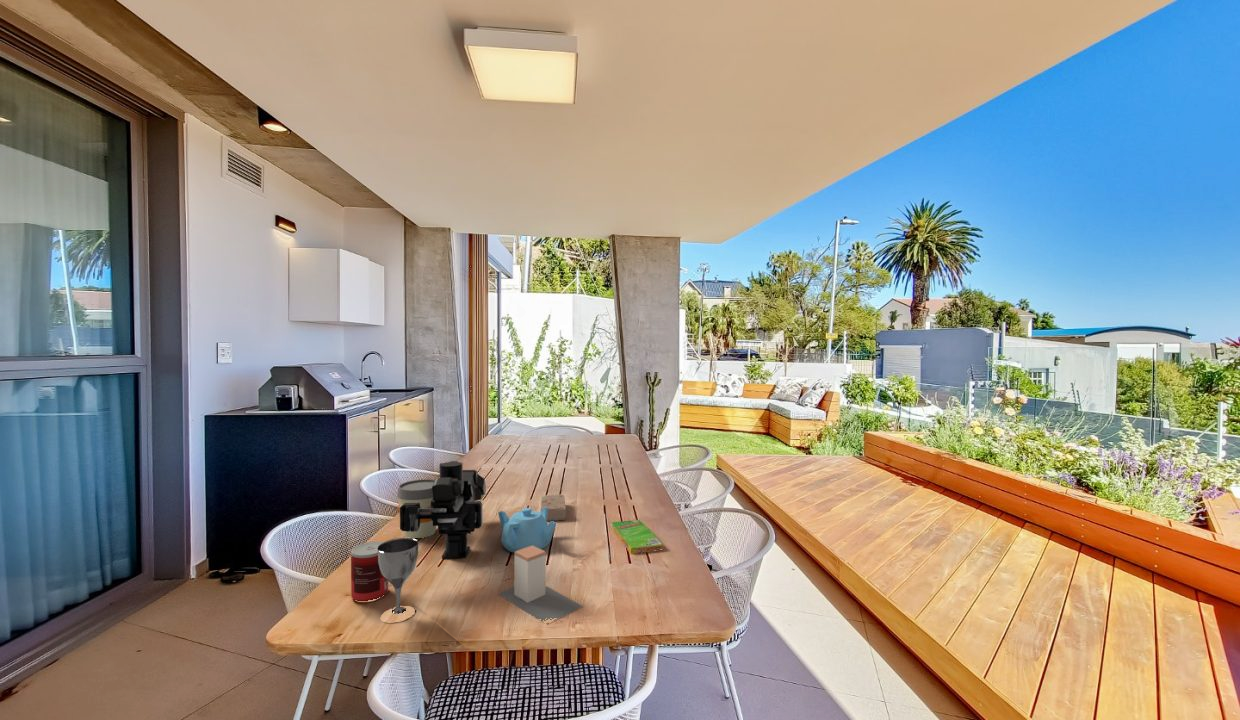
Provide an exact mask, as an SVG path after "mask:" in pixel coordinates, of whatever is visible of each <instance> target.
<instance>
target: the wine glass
mask: <svg viewBox="0 0 1240 720" xmlns="http://www.w3.org/2000/svg"><path fill="white" fill-rule="evenodd" d="M382 542H383V543H381V544H380V545H379V546H378V549H377V555H378V565H379V569H380V572H381V574H382V576H383V577H384V578H385V579H386V580H388V583H390V584H391V585H392V586H393V589H394V593H395V599H396V601H395V602H396V605H395V606H396V608H395V609H394V610H392V613H394V614H399V613H403V612H404V611H406V608H404V607H400V605H401V596H402V595H401V593H402V589H403V585H404V584H405V582H406V581H407V579H409V577H410V576H411V575H412V574H413V572H414V571H415V569H416V566H417V563H418V558H419V557H418V556H419V541H418V539H413V538H405V537H398V538H397V537H395V538H392V539H388V540H386V541H382Z"/></svg>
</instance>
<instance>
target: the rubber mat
mask: <svg viewBox="0 0 1240 720" xmlns="http://www.w3.org/2000/svg"><path fill="white" fill-rule="evenodd" d="M498 596H501V597H502V598H503V599H505V600H506V601H508V602H510V603H511V604H513V605H515V606H516V607H517V608H519V609H521V610H522V611H524V612H526V613H527V614H528V615H530V614H531V616H532V617H533V616H534V618H535V619H536V620H538V619H541V621H543V620H544V621H546V620H548V619H550V618H552V619H554V618H557V619H558V618H560V619H561V618H563V617H565V616H567V614H568V615H570V614H572V613H573V612H575V611H577V610H580V609H581V608H584V607H583V605H582V604H579V603H577V601H574V600H572V599H571V598H569V597H567V596H565V595H563V594H562V593H559V592H557V591H556V590H554V589H552V588H550V587H549V586H547V585H545V595H543V596H541V597H539V598H537V599H534V600H532V601H530V602H528V603H527V602H525V601H524V600H522V599H521V598H519V597H517V596H516V595H514V587H511V588H508V589H506V590H504V591H502V592H499V593H498ZM569 613H570V614H569ZM546 618H547V619H546ZM545 619H546V620H545ZM552 619H550V620H552ZM555 620H556V619H555ZM558 620H559V619H558ZM541 621H540V622H541ZM556 621H557V620H556Z"/></svg>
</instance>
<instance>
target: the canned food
mask: <svg viewBox="0 0 1240 720" xmlns="http://www.w3.org/2000/svg"><path fill="white" fill-rule="evenodd" d="M383 542H384V541H377V540H376V541H369V542H368V541H367V542H364V543H360V544H357V545H355V546H354V547H352V549H351V552H350V595H351V599H352V598H353V599H354V600H357V601H368V600H373V599H377V598H379V597H382V596H383V595H385V594H386V593H387V594H388V591H389V581H388V580H386V579H385V578H384V577H383V576H382V574H381V572H380V569H379V565H378V555H377V549H378V546H379V545H380V544H381V543H383ZM387 594H386V595H387ZM386 595H385V596H386ZM353 599H352V600H353Z"/></svg>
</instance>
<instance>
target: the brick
mask: <svg viewBox="0 0 1240 720" xmlns="http://www.w3.org/2000/svg"><path fill="white" fill-rule="evenodd" d="M544 507H548V516H547V522H551V521H554V522H557V521H565V520H567V507H566V499H565V495H564V494H559V493H556V494H555V493H554V494H543V495H542V496H540V511H541V510H542V508H544Z"/></svg>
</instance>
